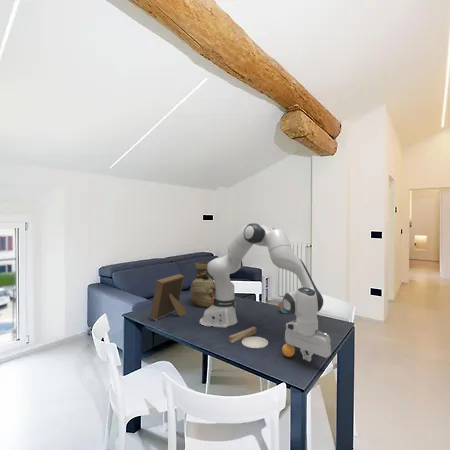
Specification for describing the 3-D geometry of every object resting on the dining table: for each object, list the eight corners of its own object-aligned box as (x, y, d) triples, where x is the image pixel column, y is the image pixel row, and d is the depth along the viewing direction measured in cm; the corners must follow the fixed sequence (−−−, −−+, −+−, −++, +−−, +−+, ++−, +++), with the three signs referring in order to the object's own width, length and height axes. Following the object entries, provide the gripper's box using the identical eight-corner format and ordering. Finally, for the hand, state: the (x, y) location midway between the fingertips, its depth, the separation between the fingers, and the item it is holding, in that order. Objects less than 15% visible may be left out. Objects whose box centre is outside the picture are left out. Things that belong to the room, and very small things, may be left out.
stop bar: (256, 333, 154) (256, 327, 154) (232, 343, 142) (231, 337, 142) (253, 332, 156) (253, 326, 156) (229, 342, 144) (229, 336, 143)
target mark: (241, 348, 137) (241, 347, 137) (241, 336, 150) (241, 336, 150) (269, 348, 136) (269, 347, 136) (266, 337, 149) (266, 336, 149)
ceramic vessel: (224, 305, 203) (223, 263, 202) (195, 310, 194) (194, 265, 194) (214, 299, 220) (213, 260, 220) (187, 302, 212) (186, 262, 211)
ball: (283, 359, 126) (283, 346, 125) (281, 353, 131) (281, 341, 131) (295, 359, 125) (295, 346, 125) (293, 353, 131) (293, 341, 131)
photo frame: (149, 320, 176) (149, 279, 175) (172, 309, 195) (172, 273, 194) (169, 324, 169) (168, 282, 168) (190, 313, 188) (190, 275, 188)
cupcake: (276, 310, 192) (276, 292, 191) (289, 309, 192) (289, 292, 192) (280, 314, 183) (280, 295, 183) (293, 314, 184) (293, 295, 183)
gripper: (334, 332, 115) (334, 366, 116) (291, 319, 130) (291, 349, 131) (326, 336, 111) (326, 372, 111) (282, 323, 126) (282, 354, 127)
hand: (307, 360), depth 121 cm, fingers closed
